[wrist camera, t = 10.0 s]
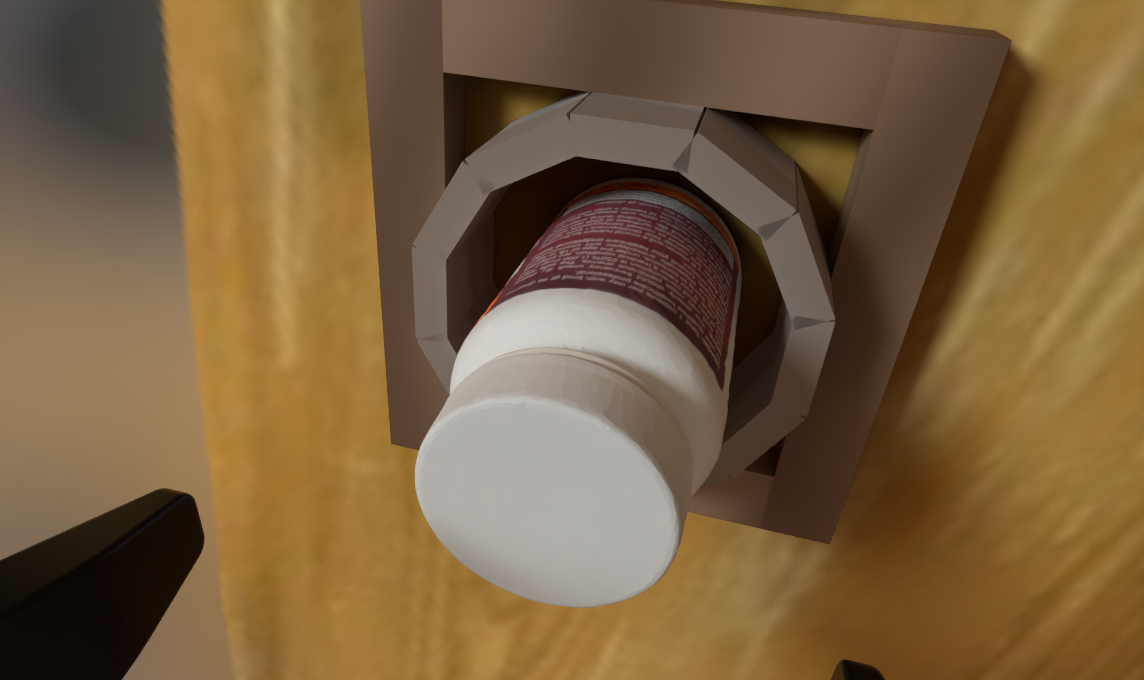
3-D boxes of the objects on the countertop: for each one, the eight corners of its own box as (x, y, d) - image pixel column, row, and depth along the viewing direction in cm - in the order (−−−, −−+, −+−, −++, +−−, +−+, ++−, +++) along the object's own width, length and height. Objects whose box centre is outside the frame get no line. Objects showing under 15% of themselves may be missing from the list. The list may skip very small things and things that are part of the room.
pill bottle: (526, 184, 17) (344, 376, 10) (735, 162, 16) (689, 367, 9) (564, 359, 19) (435, 616, 12) (750, 353, 18) (723, 641, 11)
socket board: (994, 30, 13) (1043, 58, 11) (827, 511, 20) (833, 600, 17) (385, -36, 15) (308, -26, 13) (409, 419, 22) (360, 485, 19)
